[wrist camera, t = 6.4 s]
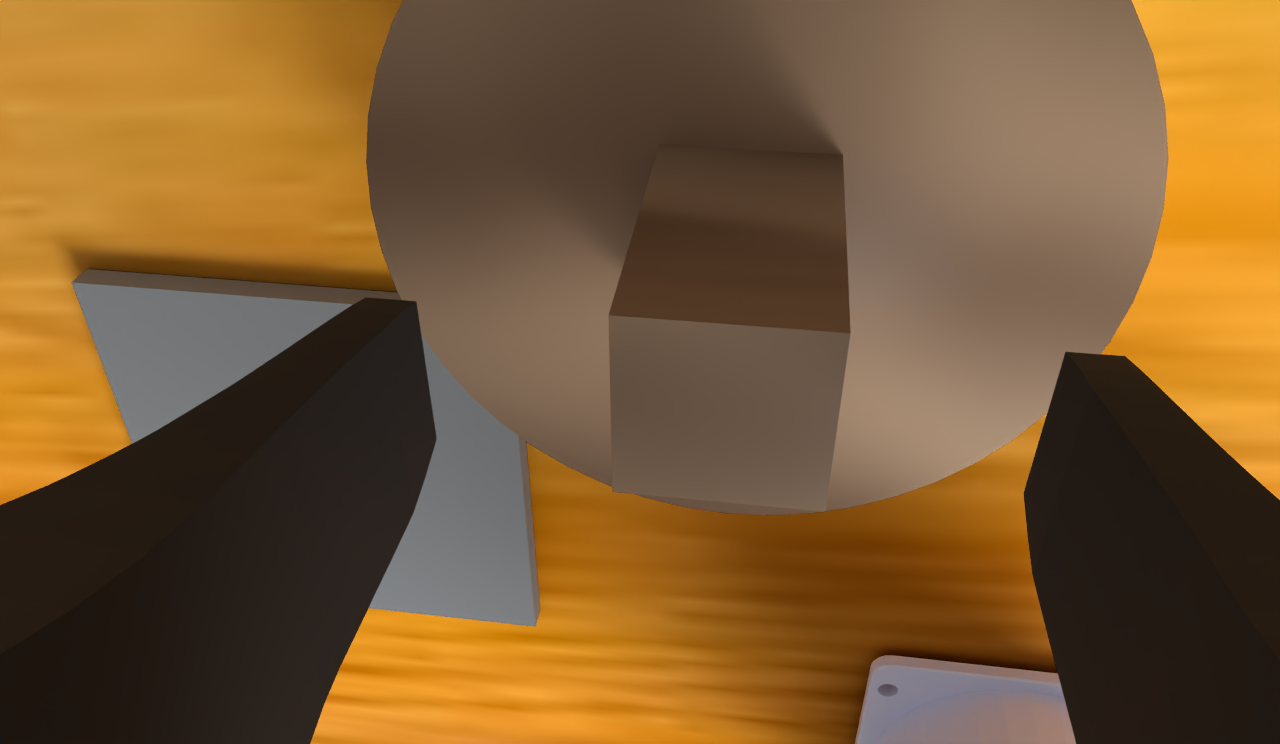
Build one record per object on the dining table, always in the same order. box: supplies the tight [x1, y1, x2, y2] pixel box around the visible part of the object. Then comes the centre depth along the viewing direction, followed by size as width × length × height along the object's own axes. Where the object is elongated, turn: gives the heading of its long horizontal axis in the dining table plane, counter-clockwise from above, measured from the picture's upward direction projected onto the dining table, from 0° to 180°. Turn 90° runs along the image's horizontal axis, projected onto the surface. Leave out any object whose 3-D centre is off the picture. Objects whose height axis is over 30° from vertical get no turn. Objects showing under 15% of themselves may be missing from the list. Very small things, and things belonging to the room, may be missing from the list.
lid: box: [366, 0, 1168, 515], centre depth 14 cm, size 12×12×5 cm
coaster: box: [72, 269, 540, 626], centre depth 26 cm, size 10×10×1 cm
